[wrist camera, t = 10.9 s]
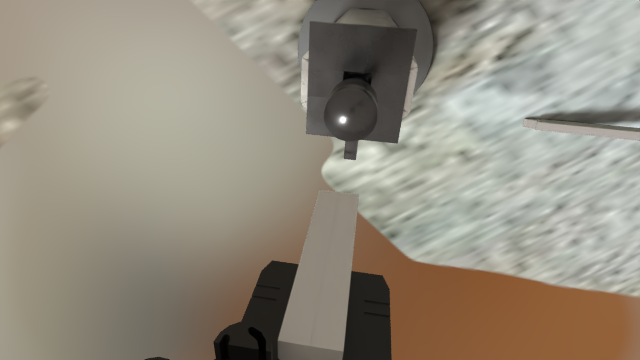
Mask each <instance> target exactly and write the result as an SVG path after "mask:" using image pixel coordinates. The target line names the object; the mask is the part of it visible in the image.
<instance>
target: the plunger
mask: <svg viewBox="0 0 640 360" xmlns="http://www.w3.org/2000/svg"><path fill="white" fill-rule="evenodd" d="M371 81H372V73H360V72H349V71H344V79H343V81H342V82H340V83H338V84H337V85H336V86H335V87H334V89H333V90H332V92H331V94H330V97H329V99H328V102H327V104H326V106H325V110H324V122H325V125H326V127H327V129H328V130H329V132H330V133H331V134H332V135H334V136H335V137H336V138H338V139H340V140H343V141H358V140H361V139H363V138H365V137H367V136H368V135H369V134H370V133H371V132H372V131H373V129H374V128H375V125H376V122H377V110H378V100H377V95H376V92H375V90H374V89H373V88H372V86H371Z"/></svg>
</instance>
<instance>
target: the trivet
mask: <svg viewBox="0 0 640 360" xmlns="http://www.w3.org/2000/svg"><path fill="white" fill-rule="evenodd" d="M351 8H358V9H359V8H373V9H377V10H385V12H386V11H387V12H388V14H389V15H390V16H391V18H393V19H394V20H395V22H396V23H397V24H398V26H399V27H403V28H417V35H416V40H415V46H414V52H413V56H414V58H415V61H416V63H417V67H418V71H417V76H416V82H415V87H414V93H415V92H416V91H417V89H418V88H419V87H420V85H421V84H422V82H423V80H424V79H425V77H426V75H427V72H428V70H429V67H430V63H431V59H432V53H433V35H432V29H431V25H430V21H429V19H428V16H427V14H426V12H425V10H424V8H423V7H422V5H421V4H420V2H419V1H418V0H316V1H315V2H314V4H313V5H312V6H311V8H310V9H309V11H308V13H307V15H306V17H305V19H304V21H303V24H302V27H301V30H300V34H299V40H298V58H299V64H300V68H301V71H302V58H303V56H304V55H305V54H306V52H307V51H308V50H309V28H310V21H320V22H335V21H336V20H337V19H338V18H339V17H341V16H342V15H344V14H345V13H346V12H347V11H348V10H349V9H351ZM414 93H413V94H414Z"/></svg>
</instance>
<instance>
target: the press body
mask: <svg viewBox="0 0 640 360" xmlns="http://www.w3.org/2000/svg"><path fill="white" fill-rule="evenodd" d="M416 35H417V28H403V27H399V26H398V24H397V23H396V22H395V20H394V19H393V18H391V16H390V15H389V14H388V12H387V11H386V12H385V10H377V9H373V8H359V9H358V8H351V9H349V10H348V11H347V12H346V13H345V14H344V15H342V16H341V17H339V18H338V19H337V20H336V21H335V22H320V21H310V28H309V50H308V51H307V52H306V54H305V55H304V56H303V58H302V75H301V102H302V105H303V106H304V107H305V108H306V109H307V125H306V134H312V135H322V136H331V137H335V136H334V135H332V134H331V133H330V132H329V130H328V129H327V127H326V125H325V122H324V110H325V106H326V104H327V102H328V99H329V97H330V94H331V92H332V90H333V89H334V87H335V86H336V85H337V84H338V83H340V82H342V81H343V79H344V71H349V72H360V73H372V81H371V86H372V88H373V89H374V90H375V92H376V95H377V100H378V110H377V122H376V125H375V128H374V129H373V131H372V132H371V133H370V134H369V135H368V136H367V137H365V138H363V139H361V140H370V141H379V142H389V143H398V138H399V132H400V127H401V121H402V119H403V118H404V117H406V116H407V115H408V114H409V113H410V109H411V103H412V98H413V93H414V87H415V82H416V76H417V71H418V67H417V63H416V61H415V58H414V56H413V52H414V46H415V40H416ZM357 147H358V141H345V152H344V159H351V160H356V154H357Z"/></svg>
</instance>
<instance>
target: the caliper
mask: <svg viewBox="0 0 640 360" xmlns="http://www.w3.org/2000/svg"><path fill="white" fill-rule="evenodd" d="M523 127H528V128H535V130H543V131H553V132H562V133H572V134H581V135H591V136H601V137H610V138H620V139H630V140H639V141H640V128H631V127H621V126H610V125H600V124H590V123H579V122H569V121H559V120H547V119H536V120H535V119H524V122H523Z"/></svg>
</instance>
